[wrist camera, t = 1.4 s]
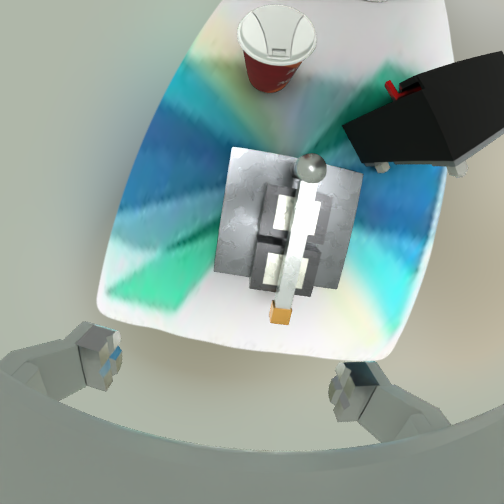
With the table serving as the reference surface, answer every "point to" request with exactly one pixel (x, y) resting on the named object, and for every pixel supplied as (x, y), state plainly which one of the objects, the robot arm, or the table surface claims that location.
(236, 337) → the table surface
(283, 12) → the paper cup
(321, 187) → the tray
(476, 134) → the electrical component
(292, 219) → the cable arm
